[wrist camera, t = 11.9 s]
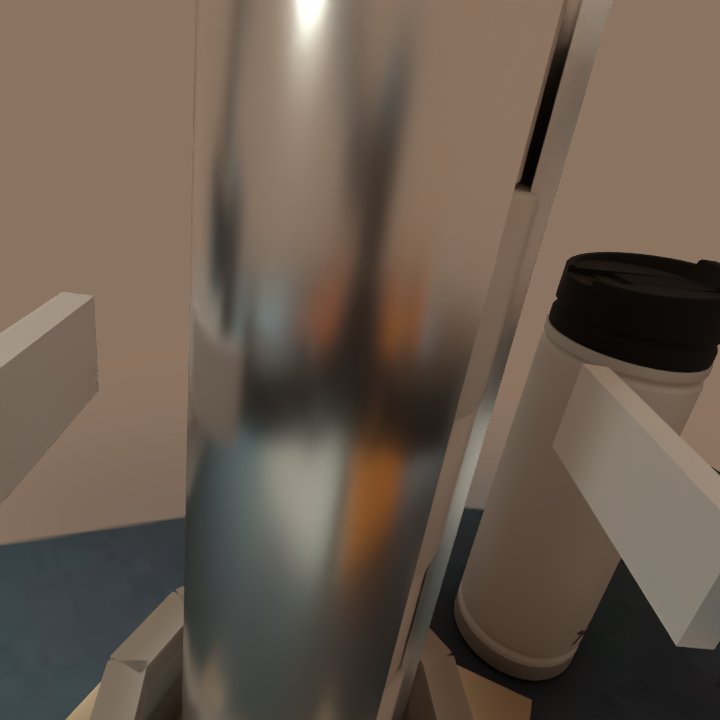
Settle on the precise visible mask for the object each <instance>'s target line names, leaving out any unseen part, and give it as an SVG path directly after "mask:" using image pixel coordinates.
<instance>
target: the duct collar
mask: <svg viewBox="0 0 720 720" xmlns="http://www.w3.org/2000/svg"><path fill="white" fill-rule="evenodd" d="M183 622H184V586H183V587H180V588H178V589H176V593H175V592H172V593H171V594H170V595H169V596H168V597H167V598H166V599H165V600H164V601H163V602H162V603H161V604H160V605H159V606H158V607H157V608H156V609H155V610H154V611H153V612H152V613H151V615H150V616H149V617H148V618H147V619H146V620H145V621H144V622H143V623H142V624H141V625H140V626H139V627H138V628H137V629H136V630H135V631H134V632H133V633H132V634H131V635H130V636H129V637H128V638H127V639H126V640H125V642H124V643H123V644H122V645H121V646H120V647H119V648H118V649H117V650H116V651H115V652H114V653H113V654H112V655H111V656H110V658H111V660H108V661H107V665H106V668H105V671H104V674H103V678H102V681H101V682H100V683H99V684H98V685H97V686H96V688H95V689H94V690H93V691H92V692H91V693H90V694H89V695H88V696H87V697H86V698H85V699H84V700H83V701H82V702H81V704H80V705H79V706H78V707H77V708H76V709H75V710H74V711H73V712H72V713H71V714H70V715H69V716H68V717H67V719H66V720H182V674H183ZM450 655H451V651H450V650H449V649H448V647H447V646H446V645H445V644H444V643H443V642H442V641H441V640H440V639H439V638H438V636H437V635H436V634H435V633H434V632H433V631H432V630H431V629H430V628H429V629H428V633H427V636H426V640H425V643H424V647H423V650H422V653H421V657H420V660H419V664H418V667H417V671H416V674H415V677H414V681H413V684H412V688H411V691H410V695H409V698H408V701H407V705H406V708H405V712H404V715H403V718H402V720H530V713H531V705H532V700H530V699H528V698H526V697H524V696H522V695H520V694H518V693H516V692H513V691H511V690H509V689H507V688H505V687H503V686H501V685H499V684H496V683H494V682H492V681H490V680H488V679H486V678H484V677H482V676H479V675H477V674H475V673H473V672H471V671H469V670H467V669H465V668H462V667H460V666H458V665H457V664H456V661H455V658H454V656H450Z"/></svg>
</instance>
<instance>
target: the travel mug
mask: <svg viewBox="0 0 720 720" xmlns="http://www.w3.org/2000/svg"><path fill="white" fill-rule="evenodd" d="M556 297H557V298H558V299H557V300H556V301H554V302H553V305H552V308H551V311H550V314H548V315H547V319H546V322H545V326H544V329H545V331H544V332H543V333H542V334H541V337H540V340H539V343H538V346H537V350H536V352H535V356H534V359H533V362H532V365H531V368H530V371H529V374H528V377H527V380H526V384H525V386H524V389H523V393H522V396H521V399H520V402H519V405H518V408H517V411H516V414H515V417H514V420H513V423H512V426H511V429H510V433H509V436H508V438H507V442H506V445H505V448H504V451H503V454H502V457H501V460H500V463H499V466H498V469H497V472H496V476H495V478H494V482H493V485H492V488H491V491H490V494H489V497H488V500H487V503H486V506H485V509H484V512H483V515H482V518H481V522H480V525H479V528H478V531H477V534H476V537H475V540H474V543H473V546H472V549H471V552H470V555H469V558H468V562H467V565H466V568H465V571H464V574H463V578H462V580H461V583H460V586H459V589H458V592H457V595H456V599H455V602H454V615H455V620H456V624H457V626H458V628H459V631H460V633H461V635H462V636H463V638H464V640H465V641H466V643H467V644H468V646H469V647H470V648H471V649H472V650H473V651H474V652H475V653H476V655H478V656H479V657H480V658H481V659H482V660H483V661H485V662H486V663H487V664H489V665H490V666H492V667H493V668H495V669H497V670H498V671H500V672H502V673H505V674H507V675H509V676H512V677H515V678H519V679H523V680H533V681H538V680H546V679H550V678H553V677H556V676H558V675H559V674H561V673H562V672H563V671H565V670H566V668H567V667H568V666H569V664H570V663H571V661H572V659H573V657H574V654H575V652H576V650H577V648H578V646H579V643H580V641H581V640H582V638H583V636H584V634H585V632H586V630H587V627H588V625H589V623H590V621H591V619H592V617H593V615H594V613H595V611H596V609H597V607H598V605H599V603H600V600H601V598H602V596H603V594H604V592H605V590H606V588H607V586H608V584H609V582H610V580H611V578H612V575H613V573H614V571H615V569H616V567H617V565H618V563H619V561H620V559H621V556H620V554H619V553H618V551H617V550H616V548H615V546H614V545H613V543H612V542H611V540H610V538H609V537H608V535H607V533H606V532H605V530H604V529H603V527H602V525H601V524H600V522H599V521H598V519H597V517H596V516H595V514H594V512H593V511H592V509H591V508H590V506H589V504H588V503H587V501H586V500H585V498H584V496H583V495H582V493H581V491H580V490H579V488H578V487H577V485H576V483H575V482H574V480H573V479H572V477H571V475H570V474H569V472H568V471H567V469H566V467H565V466H564V464H563V462H562V461H561V459H560V458H559V456H558V454H557V453H556V451H555V450H554V448H553V446H552V445H553V443H554V440H555V437H556V434H557V432H558V429H559V426H560V424H561V421H562V418H563V415H564V413H565V410H566V407H567V405H568V402H569V399H570V396H571V394H572V391H573V388H574V386H575V383H576V380H577V377H578V375H579V372H580V369H581V367H582V364H590V365H598V366H605V367H609V368H610V369H611V370H612V371H613V372H614V373H615V374H616V375H617V376H618V377H619V378H620V379H621V380H622V381H623V382H625V383H626V384H627V385H628V386H629V387H630V388H631V389H632V390H633V391H634V392H635V393H636V394H637V395H638V396H639V397H640V398H641V399H642V400H643V401H644V402H645V403H646V404H647V405H648V406H649V407H650V408H651V409H652V410H653V411H654V412H655V413H656V414H657V415H658V416H659V417H660V418H661V419H662V420H663V421H664V422H665V423H667V424H668V425H669V426H670V427H671V428H672V429H673V430H674V431H675V432H676V433H677V434H678V435H679V436H680V434H681V432H682V430H683V428H684V426H685V424H686V422H687V420H688V418H689V415H690V413H691V411H692V409H693V407H694V405H695V403H696V401H697V399H698V397H699V395H700V393H701V391H702V388H703V381H704V380H705V379H706V378H707V377H708V376H709V374H710V372H711V370H712V368H713V361H714V360H715V357H716V355H717V352H718V350H717V349H718V348H717V345H719V344H720V263H719V262H716V261H708V260H700V261H699V262H698V263H697V264H695V263H690V262H686V261H682V260H677V259H672V258H666V257H659V256H653V255H645V254H635V253H621V252H596V253H585V254H580V255H576V256H574V257H571V258H570V259H569V260H567V262H566V265H565V268H564V271H563V275H562V277H561V280H560V283H559V286H558V289H557V293H556Z"/></svg>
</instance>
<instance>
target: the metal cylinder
mask: <svg viewBox="0 0 720 720" xmlns="http://www.w3.org/2000/svg"><path fill="white" fill-rule="evenodd" d="M611 3H612V0H196V2H195V53H194V54H195V55H194V56H195V57H194V106H193V108H194V109H193V157H192V209H191V260H190V314H189V315H190V317H189V365H188V415H187V416H188V417H187V469H186V471H187V472H186V519H185V570H184V622H183V674H182V720H402V718H403V715H404V712H405V708H406V705H407V701H408V698H409V695H410V691H411V688H412V684H413V681H414V677H415V674H416V671H417V667H418V664H419V660H420V657H421V653H422V650H423V647H424V643H425V640H426V636H427V633H428V629H429V626H430V623H431V619H432V616H433V612H434V609H435V606H436V602H437V599H438V595H439V592H440V588H441V585H442V582H443V578H444V575H445V571H446V568H447V564H448V561H449V558H450V554H451V551H452V547H453V544H454V540H455V537H456V534H457V530H458V527H459V523H460V520H461V517H462V513H463V510H464V506H465V503H466V499H467V496H468V493H469V489H470V486H471V482H472V479H473V475H474V472H475V469H476V465H477V462H478V458H479V455H480V451H481V448H482V445H483V441H484V437H485V434H486V431H487V427H488V424H489V420H490V417H491V414H492V410H493V407H494V403H495V400H496V397H497V393H498V390H499V386H500V383H501V380H502V376H503V373H504V369H505V366H506V362H507V359H508V355H509V352H510V349H511V345H512V342H513V339H514V335H515V331H516V328H517V325H518V321H519V318H520V315H521V311H522V308H523V304H524V301H525V297H526V294H527V290H528V287H529V284H530V280H531V277H532V273H533V270H534V266H535V263H536V260H537V256H538V253H539V250H540V246H541V243H542V239H543V236H544V232H545V229H546V226H547V222H548V219H549V215H550V212H551V208H552V205H553V202H554V198H555V195H556V191H557V187H558V184H559V181H560V178H561V174H562V171H563V167H564V164H565V160H566V157H567V154H568V150H569V147H570V143H571V140H572V136H573V133H574V130H575V126H576V123H577V119H578V116H579V113H580V109H581V106H582V102H583V99H584V96H585V92H586V88H587V85H588V82H589V78H590V75H591V71H592V68H593V65H594V61H595V58H596V54H597V51H598V48H599V44H600V41H601V37H602V34H603V30H604V27H605V24H606V20H607V17H608V13H609V10H610V6H611Z"/></svg>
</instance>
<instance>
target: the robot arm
mask: <svg viewBox="0 0 720 720" xmlns="http://www.w3.org/2000/svg"><path fill="white" fill-rule="evenodd" d="M96 348H97V347H96V328H95V305H94V296H91V295H83V294H76V293H69V292H62V293H60V294H59V295H57V296H56V297H54V298H53V299H51V300H50V301H48V302H47V303H45V304H44V305H42V306H41V307H39V308H38V309H36V310H35V311H33V312H32V313H30V314H29V315H27V316H26V317H24V318H22V319H21V320H20V321H18V322H17V323H15V324H13V325H12V326H10V327H9V328H7V329H6V330H5V331H3V332H1V333H0V505H1V504H2V503H3V501H4V500H5V499H6V498H7V497H8V496H9V494H10V493H11V492H12V491H13V490H14V488H15V487H16V486H17V485H18V484H19V483H20V481H21V480H22V479H23V478H24V477H25V476H26V474H27V473H28V472H29V471H30V470H31V469H32V468H33V466H34V465H35V464H36V463H37V462H38V461H39V459H40V458H41V457H42V456H43V455H44V454H45V452H46V451H47V450H48V449H49V448H50V447H51V445H52V444H53V443H54V441H56V440H57V438H58V437H59V436H60V435H61V434H62V433H63V431H64V430H65V429H66V428H67V427H68V425H69V424H70V423H71V422H72V421H73V420H74V418H75V417H76V416H77V415H78V414H79V413H80V412H81V410H82V409H83V408H84V407H85V406H86V405H87V403H88V402H89V401H90V400H91V399H92V397H93V396H94V395H95V394H96V393H97V391H98V369H97V349H96ZM552 446H553V448H554V450H555V451H556V453H557V454H558V456H559V458H560V459H561V461H562V462H563V464H564V466H565V467H566V469H567V471H568V472H569V474H570V475H571V477H572V479H573V480H574V482H575V483H576V485H577V487H578V488H579V490H580V491H581V493H582V495H583V496H584V498H585V500H586V501H587V503H588V504H589V506H590V508H591V509H592V511H593V512H594V514H595V516H596V517H597V519H598V521H599V522H600V524H601V525H602V527H603V529H604V530H605V532H606V533H607V535H608V537H609V538H610V540H611V542H612V543H613V545H614V546H615V548H616V550H617V551H618V553H619V554H620V556H621V558H622V559H623V561H624V562H625V564H626V566H627V567H628V569H629V571H630V572H631V574H632V575H633V577H634V579H635V580H636V582H637V583H638V585H639V587H640V588H641V590H642V592H643V593H644V595H645V596H646V598H647V600H648V601H649V603H650V604H651V606H652V608H653V609H654V611H655V613H656V614H657V616H658V617H659V619H660V621H661V622H662V624H663V625H664V627H665V629H666V630H667V632H668V633H669V635H670V637H671V638H672V640H673V642H674V643H675V645H676V646H679V647H690V648H702V649H713V650H714V649H715V648H716V646H717V644H718V643H719V641H720V472H719V471H717V470H716V469H714V468H713V467H711V466H709V465H708V464H707V463H706V462H705V461H704V460H703V459H702V458H701V457H700V456H699V455H698V454H697V453H696V452H695V451H694V450H693V449H692V448H691V447H690V446H689V445H688V444H687V443H686V442H685V441H684V440H683V439H682V438H681V437H680V436H679V435H678V434H677V433H676V432H675V431H674V430H673V429H672V428H671V427H670V426H669V425H668V424H667V423H665V422H664V421H663V420H662V419H661V418H660V417H659V416H658V415H657V414H656V413H655V412H654V411H653V410H652V409H651V408H650V407H649V406H648V405H647V404H646V403H645V402H644V401H643V400H642V399H641V398H640V397H639V396H638V395H637V394H636V393H635V392H634V391H633V390H632V389H631V388H630V387H629V386H628V385H627V384H626V383H625V382H623V381H622V380H621V379H620V378H619V377H618V376H617V375H616V374H615V373H614V372H613V371H612V370H611V369H610V368H609V367H605V366H598V365H590V364H582V367H581V369H580V372H579V375H578V377H577V380H576V383H575V386H574V388H573V391H572V394H571V396H570V399H569V402H568V405H567V407H566V410H565V413H564V415H563V418H562V421H561V424H560V426H559V429H558V432H557V434H556V437H555V440H554V443H553V445H552ZM715 686H716V687H718V688H719V689H720V678H719V680H718V682H717V683H716V685H715Z"/></svg>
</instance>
